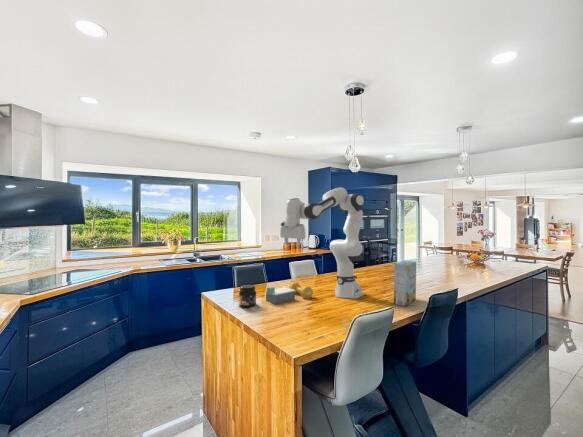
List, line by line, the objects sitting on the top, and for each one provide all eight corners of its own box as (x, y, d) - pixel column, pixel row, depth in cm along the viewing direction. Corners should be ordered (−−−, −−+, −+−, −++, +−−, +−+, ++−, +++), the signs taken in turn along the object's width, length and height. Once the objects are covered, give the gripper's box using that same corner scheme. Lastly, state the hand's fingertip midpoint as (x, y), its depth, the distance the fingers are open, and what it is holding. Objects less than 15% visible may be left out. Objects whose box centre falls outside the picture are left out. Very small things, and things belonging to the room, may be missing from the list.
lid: (285, 288, 197) (285, 282, 197) (295, 291, 189) (295, 285, 189) (263, 292, 185) (263, 286, 185) (273, 295, 177) (273, 289, 177)
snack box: (407, 307, 174) (407, 264, 174) (393, 304, 179) (393, 263, 179) (417, 299, 191) (416, 260, 191) (403, 297, 197) (403, 259, 197)
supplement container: (235, 306, 175) (235, 287, 175) (245, 302, 184) (245, 283, 184) (249, 309, 170) (249, 289, 170) (259, 304, 179) (259, 285, 179)
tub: (285, 297, 197) (285, 288, 197) (294, 300, 189) (294, 291, 189) (266, 301, 186) (266, 292, 186) (275, 305, 179) (275, 295, 179)
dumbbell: (287, 294, 205) (287, 282, 205) (298, 292, 210) (298, 281, 210) (303, 300, 189) (303, 288, 189) (314, 298, 194) (314, 286, 194)
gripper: (308, 224, 176) (307, 246, 176) (286, 223, 191) (285, 244, 191) (300, 223, 172) (299, 247, 171) (278, 223, 187) (278, 244, 187)
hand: (292, 245), depth 181 cm, fingers open, 8 cm apart
